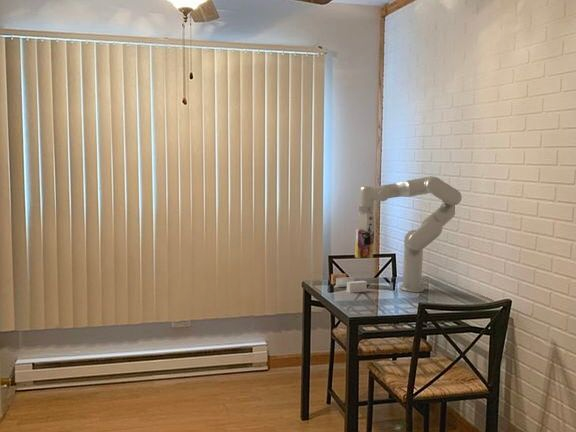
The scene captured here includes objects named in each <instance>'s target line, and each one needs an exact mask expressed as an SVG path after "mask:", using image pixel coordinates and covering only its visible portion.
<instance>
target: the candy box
mask: <svg viewBox="0 0 576 432" xmlns="http://www.w3.org/2000/svg"><path fill="white" fill-rule="evenodd" d="M368 231H369V230H368ZM367 234H368V233H367ZM365 237H366V236H365V232H364V231H363V230H362V229H357V228H356V229H355V246H354V247H355V250H354V258H356V259H373V257H374V243H375V242H374V241H375V240H374V239H375V230H374V231H373V234H372V235H371V238H370V245H364V242H365Z"/></svg>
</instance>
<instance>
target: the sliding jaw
mask: <svg viewBox="0 0 576 432" xmlns="http://www.w3.org/2000/svg"><path fill="white" fill-rule="evenodd" d="M355 280H356V279H355V277H354V276H347V273H334V274H333V273H331V274H330V284H331V285H335V287H336V288H347V282H353V281H355Z"/></svg>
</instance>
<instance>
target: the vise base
mask: <svg viewBox="0 0 576 432" xmlns="http://www.w3.org/2000/svg"><path fill="white" fill-rule="evenodd" d="M367 287H368V282H367V281H365V280H356V281H353V282H347V287H346V292H347V293H349V294H350V293H351V294H352V293H362V292H367Z"/></svg>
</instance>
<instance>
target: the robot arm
mask: <svg viewBox="0 0 576 432" xmlns="http://www.w3.org/2000/svg"><path fill="white" fill-rule="evenodd" d="M427 194H431V195H432V196H434V197H435V198H437V199H439V200H441V205H440V206H439V208H437V209H436V210H434V212H433V213H431V214H430V215H429V216H428V217H426V218H425V219H424V220H423V221H422V223H421V225H420V227H418V228H417V229H411V230H410V231H408V232H407V233H406V234H405V235H404V242H403V243H404V245H403V246H404V254H403V255H404V256H403V273H402V285H400V286H399V290H401V291H403V292H408V293H421V292H424V290H425V289H424V286H425V287H426V286H429V282H428V281H422V273H423V259H424V255H423V254H424V249H425V248H426V247H427V246H429V245H430V244H431V243H433V241H435V240H436V239H437V238H439V236H440V235H441V234H442V232H443V227H444V226H445V225H446V224H448V222H450V221H451V220H452V219H453V218H454V217H455V215H456V214H455V205H457V204H458V205H459V204H460V203H461V201H462V197H463V195H462V193H461V192H460V191H459V189H456V188H455V187H453V186H452V185H450V184H448V183H446V182H445V181H444V180H443V179H440V178H439V177H436V176H433V175H432V176H426V177H421V178H415V179H410V180H405V181H401V182H400V181H399V182H395V183H390V184H383V185H379V186H375V187H374V186H370V185H369V186H368V185H367V186H366V185H363V186H361V187H360V188H359V204H358V205H359V207H358V217H357V228H356V229H362V230H363V231H364V232H365V236H366V237H365V242H364V245H370V238H371V235H372V234H373V231H374V232H375V214H374V206H375V201H378V202H385V201H387V200H388V199H392V198H393V199H394V198H401V197H403V198H411V197H415V196H421V195H427ZM368 230H369V231H368ZM367 233H368V234H367Z"/></svg>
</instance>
